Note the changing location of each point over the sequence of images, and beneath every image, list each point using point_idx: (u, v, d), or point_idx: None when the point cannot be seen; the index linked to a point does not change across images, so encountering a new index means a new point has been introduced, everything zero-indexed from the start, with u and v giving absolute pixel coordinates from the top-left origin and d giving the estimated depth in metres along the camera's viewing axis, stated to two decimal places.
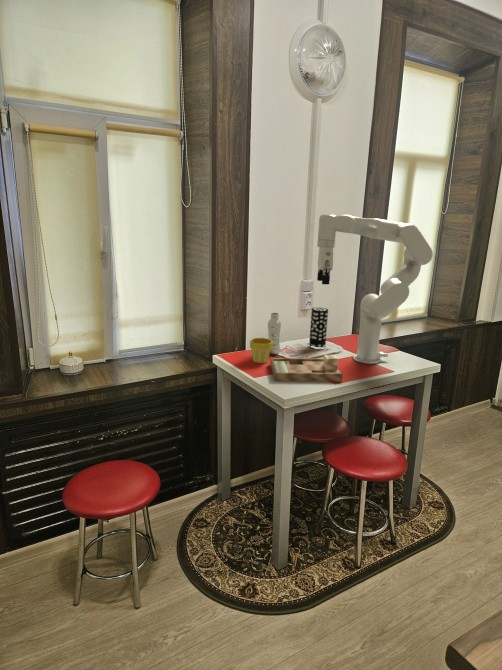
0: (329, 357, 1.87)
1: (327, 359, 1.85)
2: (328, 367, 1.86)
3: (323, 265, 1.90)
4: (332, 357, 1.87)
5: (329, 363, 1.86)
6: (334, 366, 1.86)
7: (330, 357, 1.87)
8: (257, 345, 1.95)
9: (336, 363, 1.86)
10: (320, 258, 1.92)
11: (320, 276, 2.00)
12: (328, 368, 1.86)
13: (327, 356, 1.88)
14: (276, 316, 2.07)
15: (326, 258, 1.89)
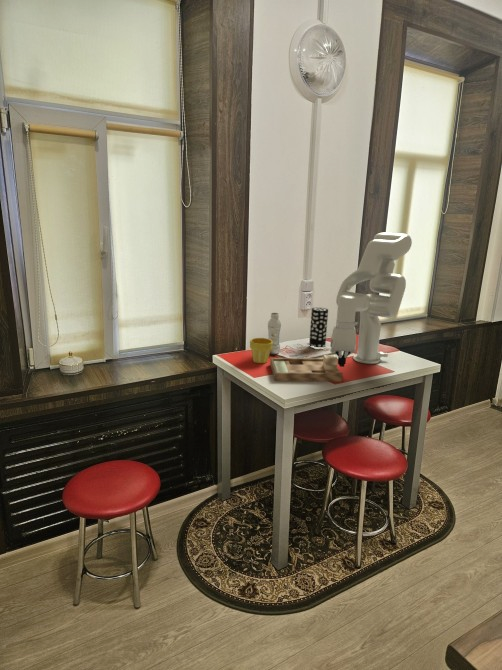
0: (328, 357, 1.87)
1: (327, 359, 1.85)
2: (328, 367, 1.86)
3: (355, 346, 1.85)
4: (332, 357, 1.87)
5: (329, 363, 1.86)
6: (334, 366, 1.86)
7: (329, 357, 1.87)
8: (257, 345, 1.95)
9: (336, 363, 1.86)
10: (349, 340, 1.84)
11: None
12: (328, 368, 1.86)
13: (326, 356, 1.88)
14: (276, 316, 2.07)
15: None
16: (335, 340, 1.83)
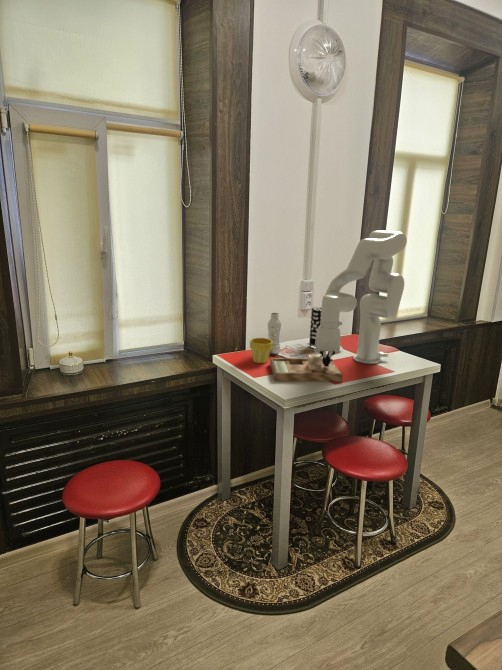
0: (312, 357, 1.87)
1: (311, 359, 1.85)
2: (312, 367, 1.86)
3: (339, 345, 1.85)
4: (316, 357, 1.86)
5: (313, 363, 1.85)
6: (318, 366, 1.86)
7: (313, 357, 1.86)
8: (257, 345, 1.95)
9: (320, 363, 1.86)
10: (333, 340, 1.83)
11: None
12: (312, 367, 1.86)
13: (311, 356, 1.87)
14: (276, 316, 2.07)
15: None
16: (319, 340, 1.83)
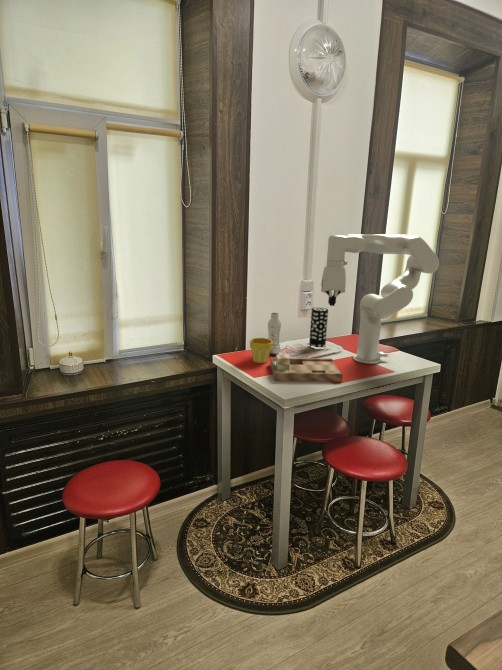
0: (280, 356, 1.86)
1: (279, 359, 1.84)
2: (280, 366, 1.85)
3: (345, 285, 1.92)
4: (284, 357, 1.85)
5: (281, 363, 1.84)
6: (286, 366, 1.85)
7: (281, 357, 1.85)
8: (257, 345, 1.95)
9: (288, 363, 1.85)
10: (339, 279, 1.90)
11: None
12: (280, 367, 1.85)
13: (279, 356, 1.86)
14: (276, 316, 2.07)
15: None
16: (325, 279, 1.90)
